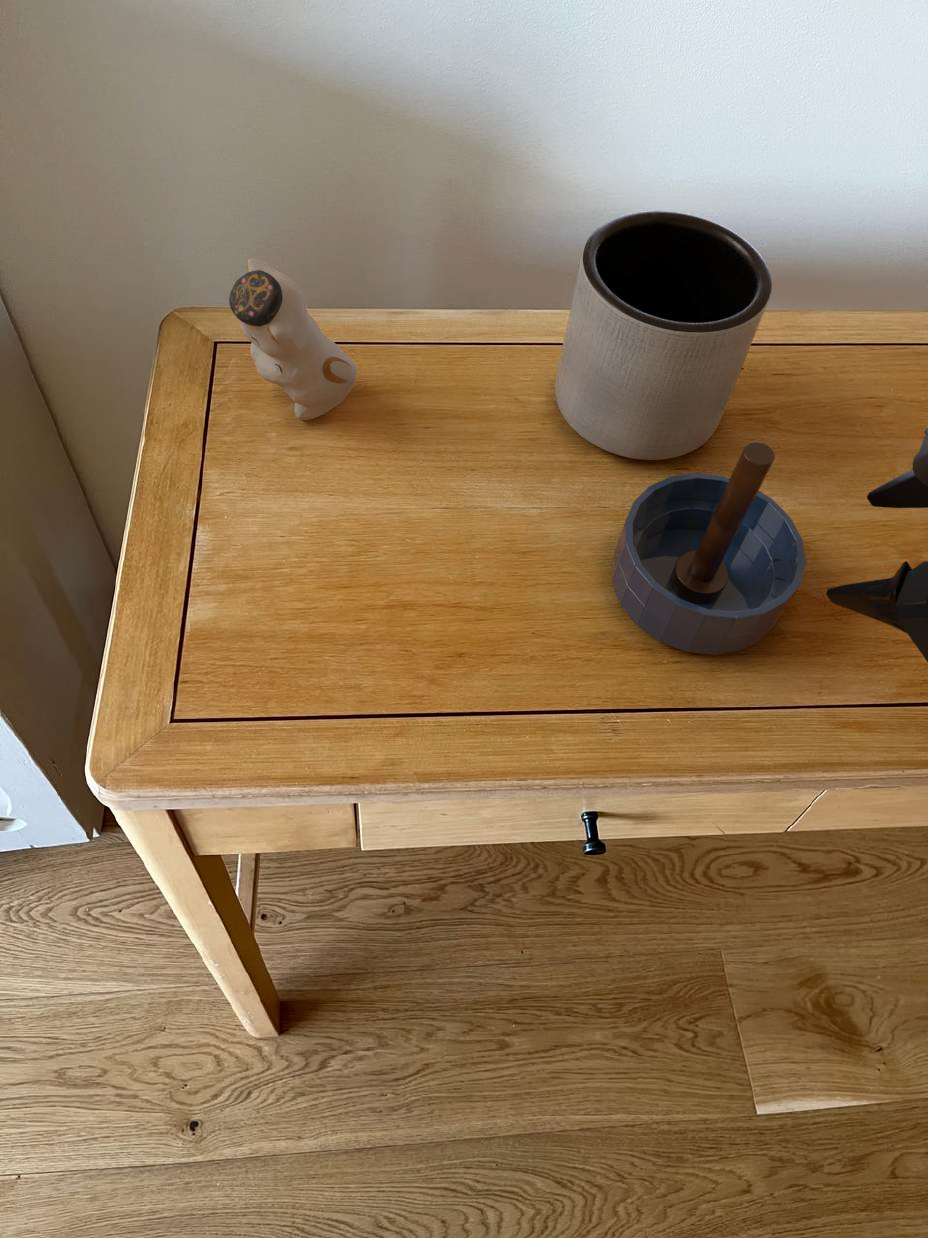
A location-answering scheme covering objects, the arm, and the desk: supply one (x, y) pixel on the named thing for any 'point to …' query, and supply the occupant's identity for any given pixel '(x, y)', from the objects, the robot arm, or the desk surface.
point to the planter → (658, 332)
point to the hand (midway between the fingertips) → (850, 546)
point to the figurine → (290, 341)
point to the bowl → (755, 561)
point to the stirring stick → (722, 529)
